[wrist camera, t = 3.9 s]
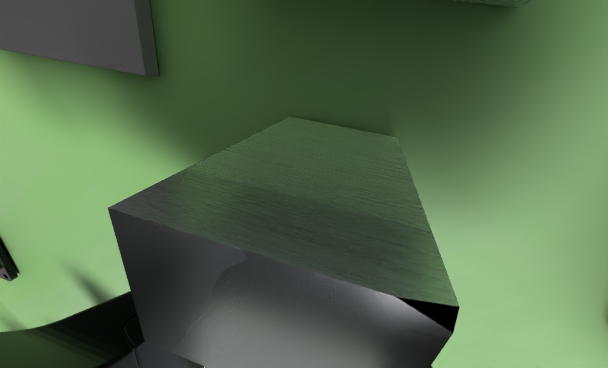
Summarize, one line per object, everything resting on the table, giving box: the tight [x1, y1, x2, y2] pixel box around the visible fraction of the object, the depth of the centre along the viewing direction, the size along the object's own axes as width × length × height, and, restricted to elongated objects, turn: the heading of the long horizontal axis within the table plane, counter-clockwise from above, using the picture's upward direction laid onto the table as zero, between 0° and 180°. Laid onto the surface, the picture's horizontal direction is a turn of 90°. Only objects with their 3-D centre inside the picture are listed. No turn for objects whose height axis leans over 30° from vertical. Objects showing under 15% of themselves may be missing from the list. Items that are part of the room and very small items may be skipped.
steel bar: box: [108, 116, 459, 368], centre depth 7 cm, size 4×10×6 cm, turn 172°
